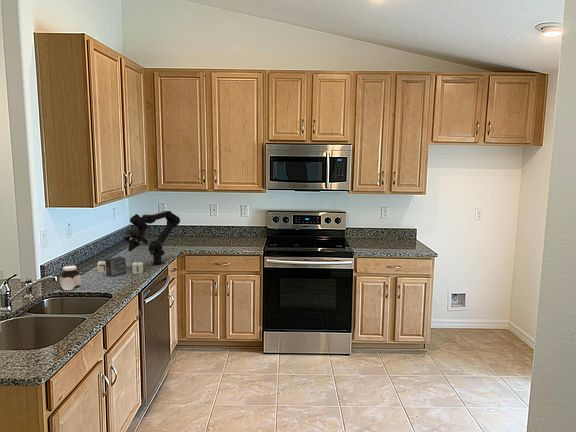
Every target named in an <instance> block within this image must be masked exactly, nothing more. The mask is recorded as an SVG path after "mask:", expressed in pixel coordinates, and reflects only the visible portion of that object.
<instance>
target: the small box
mask: <svg viewBox="0 0 576 432" xmlns="http://www.w3.org/2000/svg"><path fill="white" fill-rule="evenodd" d="M104 261H105V262H106V272H105V276H108V277H117V276H120V275H125V274H127V266H126V265H127V264H126V256H125V257H124V256H115V257H110V258H105V260H104Z"/></svg>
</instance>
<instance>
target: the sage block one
mask: <svg viewBox="0 0 576 432" xmlns="http://www.w3.org/2000/svg"><path fill="white" fill-rule="evenodd" d="M131 265H132V275H133V274H134V275H135V274H136V275H137V274H143V273H144V261H140V262H139V261H137V262H135V261H134V262H132V264H131Z"/></svg>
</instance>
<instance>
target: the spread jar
mask: <svg viewBox="0 0 576 432" xmlns="http://www.w3.org/2000/svg"><path fill="white" fill-rule="evenodd" d="M81 281H82V280H81V273H80V271H79V270H78V269H77V266H76V265H66V266H63V267H62V271H61V273H60V275H59V283H60V284H59V285H60V286H61V289H63V290H64V291H66V290H67V292H68V290H69V291H73V289H76V288H78V287H79V286H80V285H81ZM75 287H76V288H75Z"/></svg>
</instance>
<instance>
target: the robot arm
mask: <svg viewBox="0 0 576 432" xmlns="http://www.w3.org/2000/svg"><path fill="white" fill-rule="evenodd" d="M164 218H165V220H166V225H165V227H163V230H162V231H161V232H160V234H159V236H158V237H157V239H156V240H152V241H150V244H149V245H148V243H149V240H148V239H147V238H145V236H146V234H145V233H146V232H147V230H151V227H150V226H151V224H153V223H155V222H156V221H157V220H161V219H164ZM129 223H131V224H132V225H133V226H134V227H135V228H133V229H128V228H127V229H126V230H125V235H124V236H123V238H122V239H123V240H124V241H125V242H126V243H127V244H128V250H127V251H128V253H129V252H132V251H133V250H135V249H136V248H138V247H139V246H141V243H142V244H143V245H145V246H146V245H148V252H149V255H150V256H151V255H152V263H151V264H152V265H163V260H162V259H163V258H162V256H164V255H165V251H164V249H163V248H164V247H163V245H164V242H165V241H166V239H167V238H168V237H169V234H170V233H171V232H172V230H173V229H175V228H176V227H178V226H179V224H180V223H181V218H180V217H179V216H178V215H176V213H175V214H174V213H173V212H172V211H171V210H163V211H160V212H156V213H153V214H142V216H140V215H139V214H138V213H136V214H134V215H133V216H131V217H130V219H129Z"/></svg>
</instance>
